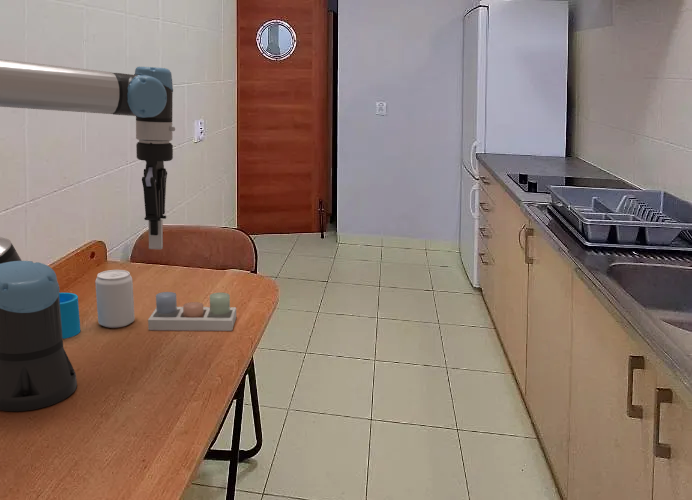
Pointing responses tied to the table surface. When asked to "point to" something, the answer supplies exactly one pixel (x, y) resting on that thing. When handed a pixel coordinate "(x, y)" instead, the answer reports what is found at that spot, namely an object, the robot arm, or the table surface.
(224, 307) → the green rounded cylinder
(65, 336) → the mug
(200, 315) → the button terracotta
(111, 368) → the table surface
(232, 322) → the three-ball tray
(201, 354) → the table surface
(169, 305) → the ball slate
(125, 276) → the beverage can
